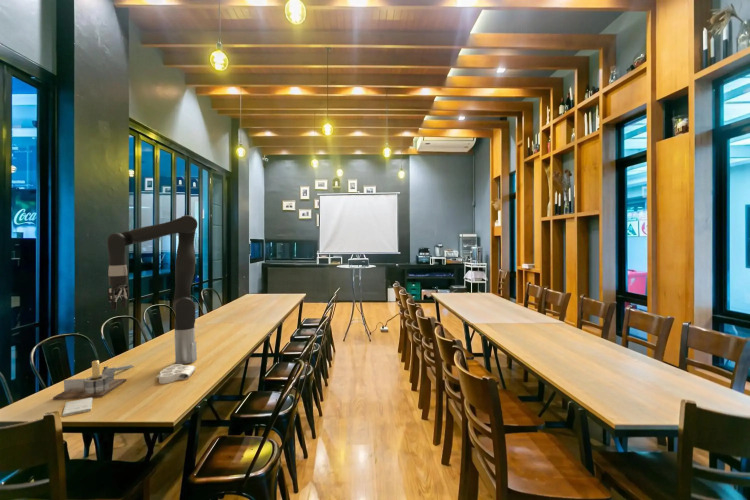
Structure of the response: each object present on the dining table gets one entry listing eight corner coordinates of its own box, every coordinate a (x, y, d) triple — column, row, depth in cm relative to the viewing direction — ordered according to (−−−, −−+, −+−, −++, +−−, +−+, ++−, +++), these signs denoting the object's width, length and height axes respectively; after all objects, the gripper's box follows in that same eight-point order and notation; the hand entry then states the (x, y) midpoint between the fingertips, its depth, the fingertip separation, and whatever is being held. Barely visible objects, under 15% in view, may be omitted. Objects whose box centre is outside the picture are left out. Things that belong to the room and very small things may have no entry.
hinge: (122, 379, 169) (122, 368, 169) (101, 393, 153) (100, 381, 153) (83, 381, 168) (83, 370, 167) (57, 395, 152) (57, 383, 152)
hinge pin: (101, 388, 158) (100, 360, 158) (97, 391, 156) (96, 361, 156) (95, 389, 158) (94, 360, 158) (91, 391, 156) (90, 362, 156)
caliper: (104, 381, 171) (103, 367, 170) (101, 381, 171) (101, 367, 170) (133, 366, 191) (133, 354, 191) (131, 366, 191) (131, 354, 191)
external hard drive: (92, 401, 150) (91, 412, 140) (66, 406, 146) (62, 418, 135) (92, 397, 150) (90, 407, 140) (65, 402, 146) (62, 413, 135)
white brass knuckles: (186, 382, 168) (150, 385, 165) (197, 369, 186) (164, 371, 183) (186, 374, 168) (150, 377, 165) (197, 362, 186) (164, 364, 183)
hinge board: (126, 380, 170) (126, 378, 170) (102, 396, 153) (102, 394, 153) (82, 383, 168) (82, 380, 168) (53, 399, 151) (53, 397, 151)
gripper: (118, 275, 177) (119, 310, 177) (134, 273, 191) (135, 305, 191) (100, 276, 176) (101, 311, 176) (118, 273, 190) (118, 306, 190)
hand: (119, 308), depth 184 cm, fingers open, 8 cm apart
